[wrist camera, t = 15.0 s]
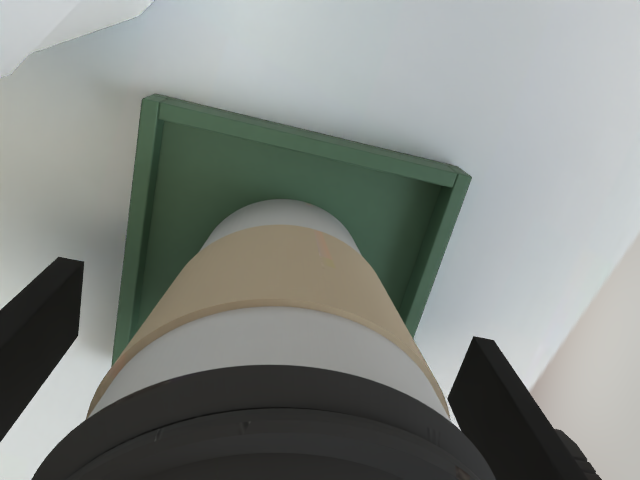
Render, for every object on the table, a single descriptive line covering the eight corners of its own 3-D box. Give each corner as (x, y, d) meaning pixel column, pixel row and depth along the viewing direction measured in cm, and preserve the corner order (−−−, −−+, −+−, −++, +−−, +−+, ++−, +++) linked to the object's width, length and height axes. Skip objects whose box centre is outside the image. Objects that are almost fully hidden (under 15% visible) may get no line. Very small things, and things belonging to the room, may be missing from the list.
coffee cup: (126, 239, 20) (-256, 698, 6) (322, 127, 19) (418, 376, 5) (246, 394, 23) (180, 930, 9) (420, 307, 22) (650, 771, 8)
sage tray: (458, 166, 20) (472, 176, 18) (374, 403, 24) (380, 428, 23) (154, 93, 18) (141, 97, 17) (121, 361, 23) (108, 385, 21)
